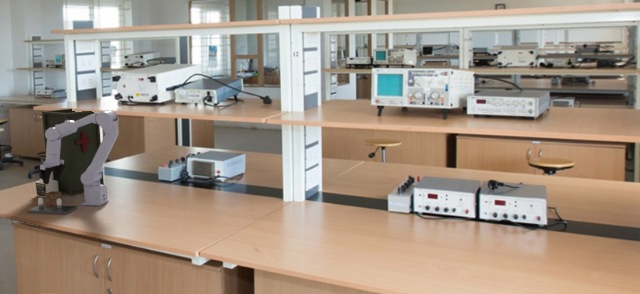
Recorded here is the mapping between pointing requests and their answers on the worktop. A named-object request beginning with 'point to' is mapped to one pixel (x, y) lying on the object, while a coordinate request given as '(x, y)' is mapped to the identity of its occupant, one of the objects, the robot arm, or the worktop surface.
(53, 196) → the sleeve
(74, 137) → the first aid box
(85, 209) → the worktop surface
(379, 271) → the worktop surface
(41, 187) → the medicine bottle
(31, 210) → the pin board
